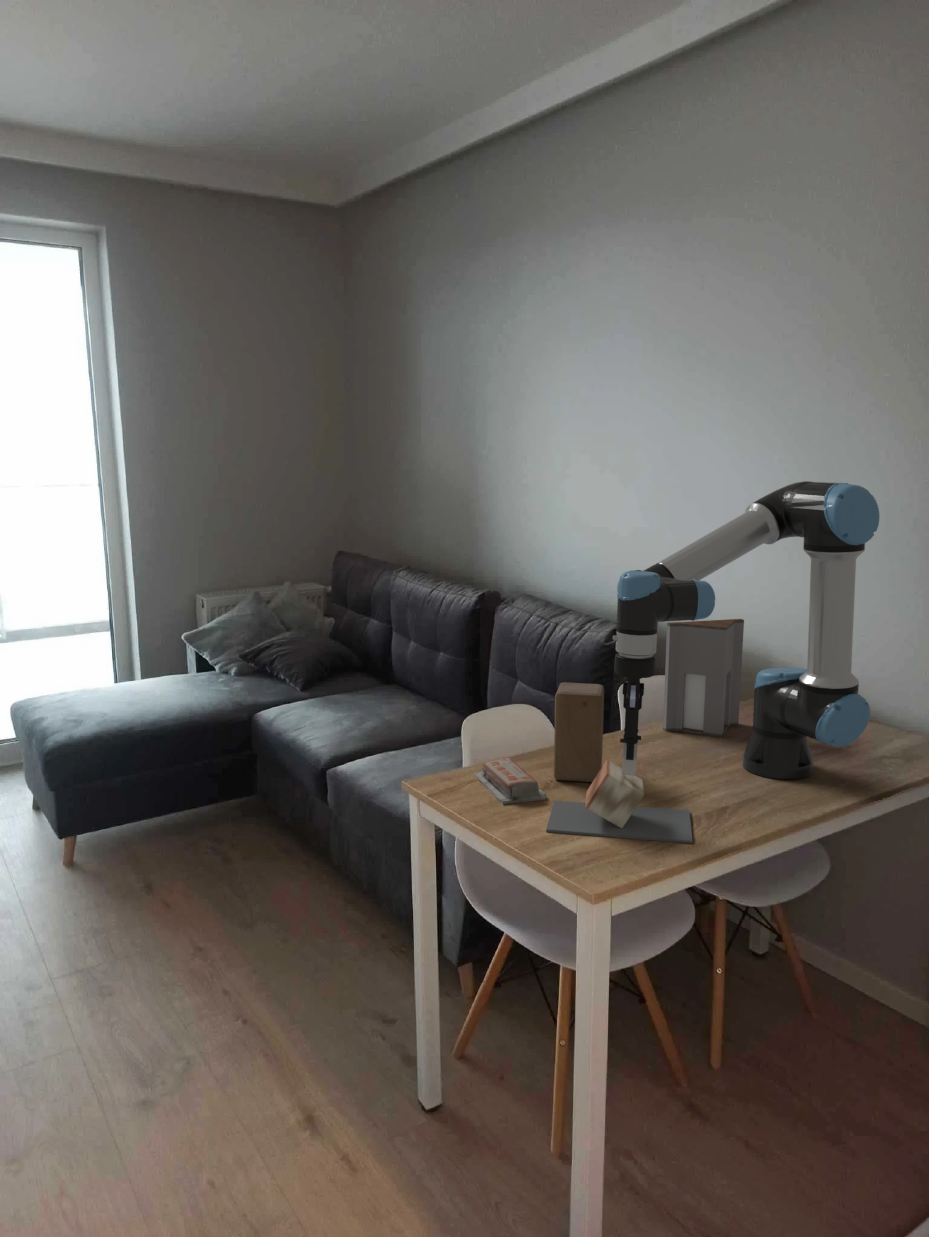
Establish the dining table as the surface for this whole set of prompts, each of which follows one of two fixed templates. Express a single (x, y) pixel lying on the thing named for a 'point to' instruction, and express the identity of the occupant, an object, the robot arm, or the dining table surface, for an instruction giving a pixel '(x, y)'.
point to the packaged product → (509, 782)
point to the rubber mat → (638, 826)
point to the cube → (614, 794)
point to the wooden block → (578, 731)
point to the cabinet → (703, 676)
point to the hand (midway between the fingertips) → (628, 773)
